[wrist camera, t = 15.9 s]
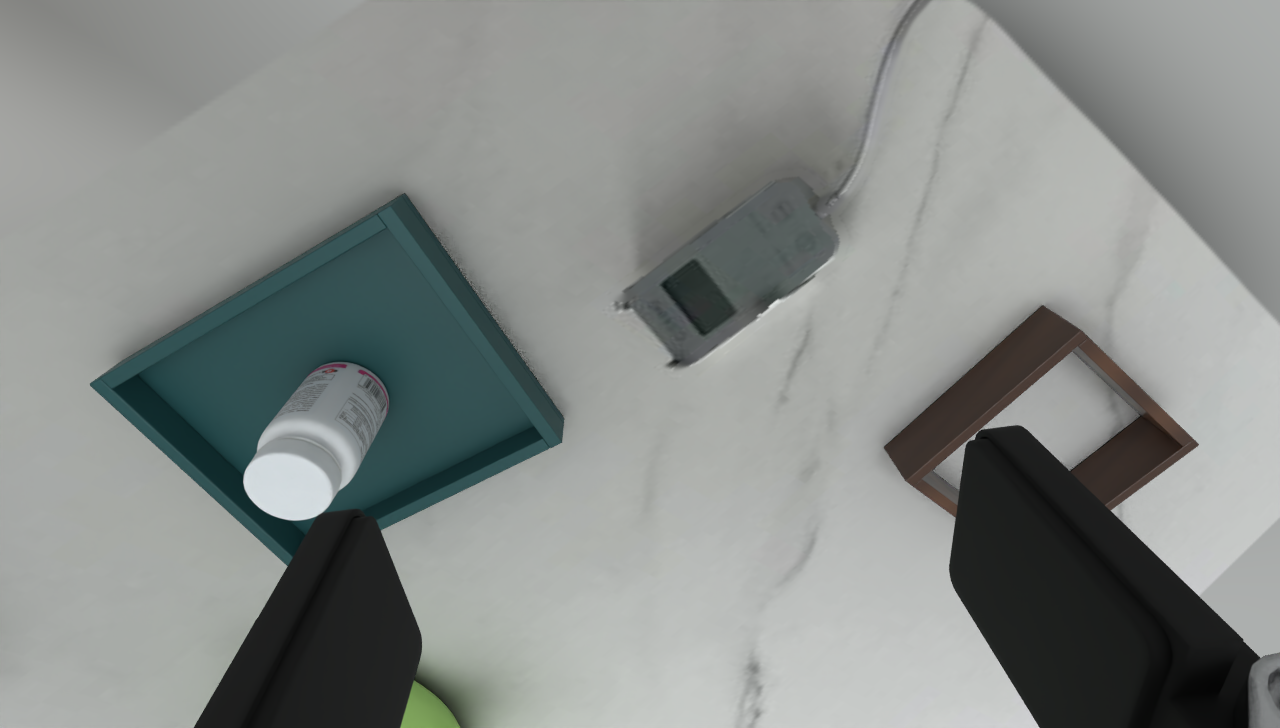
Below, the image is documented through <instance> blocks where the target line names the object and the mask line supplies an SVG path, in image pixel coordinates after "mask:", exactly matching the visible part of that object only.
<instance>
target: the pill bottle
mask: <svg viewBox="0 0 1280 728" xmlns="http://www.w3.org/2000/svg"><path fill="white" fill-rule="evenodd" d="M388 408H389V397H388V393H387V390H386V388H385V386H384V384H383V383H382V381H381V380H380V379H379V378H378V377H377V376H376V375H375V374H373V373H372V372H371V371H369V370H367V369H366V368H364V367H361V366H359V365H356V364H353V363H348V362H333V363H328V364H325V365H322V366H320V367H318V368H317V369H315V370H314V371H313V372H311V373H310V374H309V375H308V376H307V378H306V379H305V380H304V381H303V382H302V384H301V385H300V386H299V387H298V389H297V390H296V391H295V392H294V394H293V395H292V396H291V397H290V399H289V400H288V401H287V402H286V404H285V405H284V406H283V407H282V409H281V410H280V411H279V412H278V414H277V415H276V416H275V417H274V419H273V420H272V421H271V422H270V424H269V425H268V426H267V428H266V429H265V430H264V432H263V433H262V435H261V437H260V439H259V442H258V446H257V453H256V454H255V456H254V458H253V459H252V461H251V462H250V463H249V465H248V466H247V468H246V470H245V473H244V479H243V483H244V488H245V491H246V493H247V495H248V496H249V498H250V499H251V500H252V501H253V503H254V504H256V505H257V506H258V507H259V508H260V509H262V510H263V511H264V512H266V513H268V514H270V515H272V516H275V517H278V518H281V519H286V520H306V519H310V518H313V517H316V516H318V515H319V514H321V513H323V512H324V511H325V510H326V509H327V508H328V507H329V505H330V504H331V502H332V500H333V499H334V497H335V496H336V494H337V492H338V491H339V490H341V489H342V488H343V487H345V486H346V485H347V484H348V483H349V482H350V481H351V479H352V478H353V477H354V475H355V474H356V472H357V470H358V468H359V466H360V464H361V463H362V461H363V459H364V457H365V455H366V453H367V451H368V449H369V447H370V445H371V444H372V442H373V440H374V438H375V436H376V434H377V432H378V431H379V429H380V427H381V425H382V423H383V421H384V419H385V417H386V415H387V412H388Z"/></svg>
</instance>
